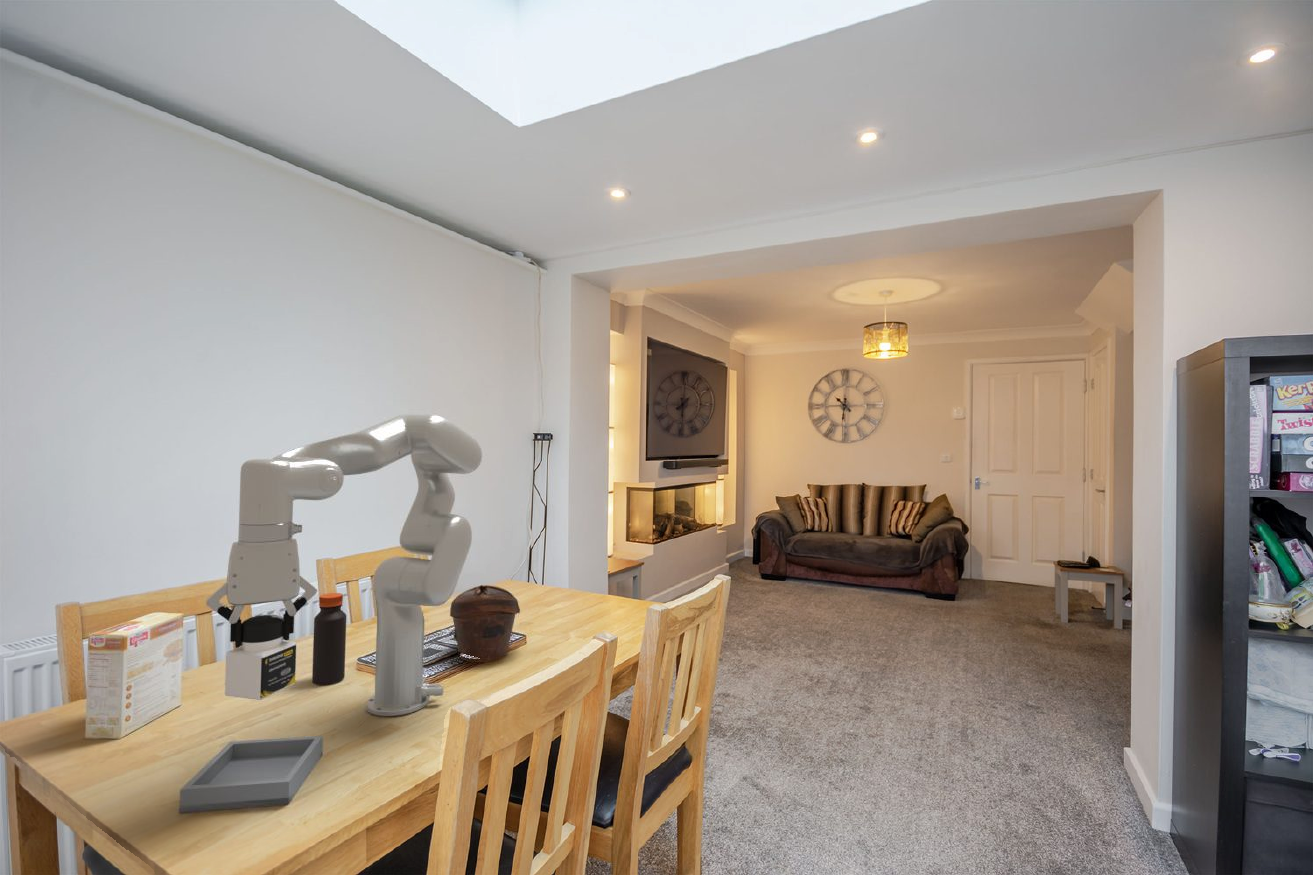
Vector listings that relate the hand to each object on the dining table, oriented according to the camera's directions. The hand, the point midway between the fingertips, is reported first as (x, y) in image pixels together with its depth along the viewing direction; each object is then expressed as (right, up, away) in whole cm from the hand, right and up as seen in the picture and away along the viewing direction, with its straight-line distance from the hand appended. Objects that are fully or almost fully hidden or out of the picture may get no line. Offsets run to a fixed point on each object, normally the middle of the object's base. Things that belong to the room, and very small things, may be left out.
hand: (262, 640), depth 100 cm
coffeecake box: (-38, -23, +20) cm, 49 cm away
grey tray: (-1, -23, 0) cm, 23 cm away
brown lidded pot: (+19, -25, +62) cm, 70 cm away
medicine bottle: (0, -8, 0) cm, 8 cm away
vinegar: (-12, -24, +42) cm, 50 cm away
